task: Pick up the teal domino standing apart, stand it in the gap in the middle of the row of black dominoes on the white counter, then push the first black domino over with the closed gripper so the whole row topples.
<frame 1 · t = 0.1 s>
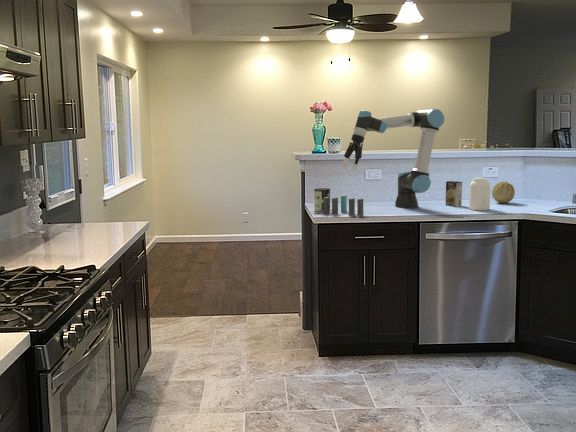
hand: (348, 168, 376), 28 cm above the worktop, tool tilted 20°, fingers open, 13 cm apart
coffee box: (453, 205, 410), on the worktop
domino 1: (360, 215, 371), on the worktop
coffee can: (322, 210, 395), on the worktop
cantaloupe: (503, 203, 417), on the worktop
teal domino: (343, 211, 390), on the worktop
domino 4: (326, 213, 381), on the worktop
domino 2: (351, 214, 373), on the worktop
domino 3: (335, 214, 378), on the worktop
cream jar: (479, 209, 389), on the worktop
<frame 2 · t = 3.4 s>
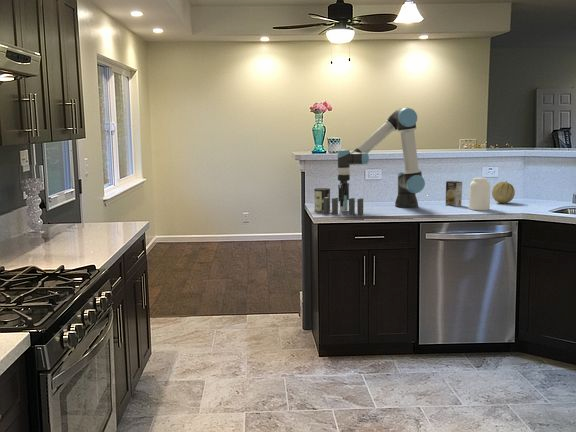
hand: (343, 210, 390), 0 cm above the worktop, tool pointing down, fingers closed on teal domino, 5 cm apart
teal domino: (343, 211, 390), on the worktop, touching gripper
everything else where it was.
when the fingers open (1 cm above the worktop, at t = 8.6 s): teal domino stays where it is, on the worktop.
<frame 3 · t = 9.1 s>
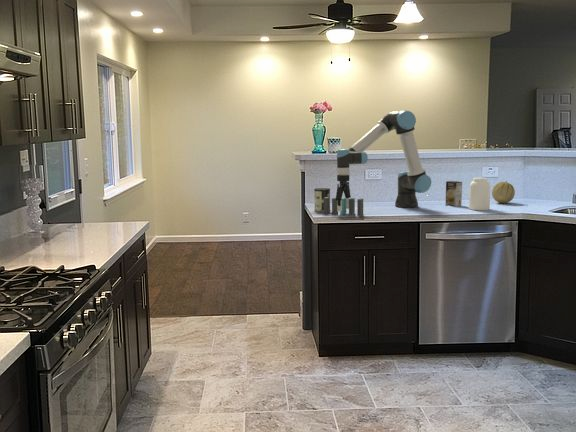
hand: (343, 209, 375), 3 cm above the worktop, tool pointing down, fingers open, 12 cm apart
teal domino: (343, 214, 376), on the worktop
everything else where it was.
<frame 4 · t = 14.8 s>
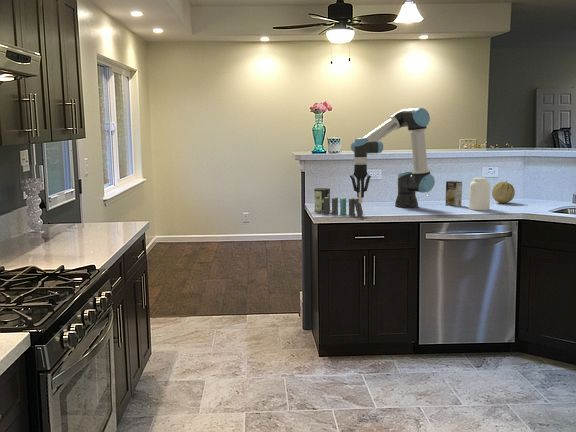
hand: (360, 203, 370), 7 cm above the worktop, tool pointing down, fingers closed
domino 1: (360, 214, 371), on the worktop, tilted 14°
everything else where it was.
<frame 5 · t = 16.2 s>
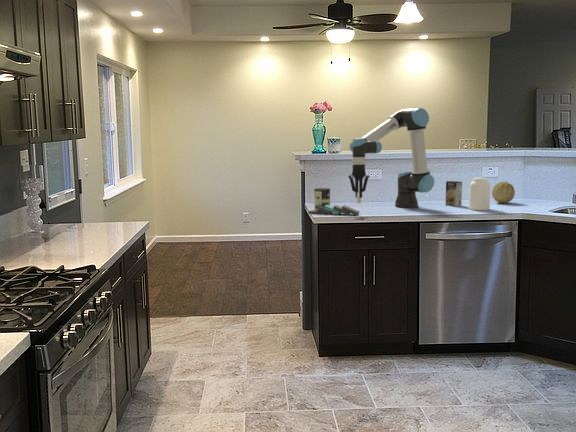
hand: (358, 203, 370), 7 cm above the worktop, tool pointing down, fingers closed
domino 1: (357, 213, 372), point 1 cm above the worktop, tilted 70°, touching domino 2
teal domino: (340, 212, 377), point 1 cm above the worktop, tilted 70°, touching domino 2, domino 3
domino 4: (324, 212, 381), on the worktop, tilted 90°
domino 2: (349, 213, 374), point 1 cm above the worktop, tilted 70°, touching domino 1, teal domino
domino 3: (331, 212, 379), point 1 cm above the worktop, tilted 70°, touching teal domino
everything else where it was.
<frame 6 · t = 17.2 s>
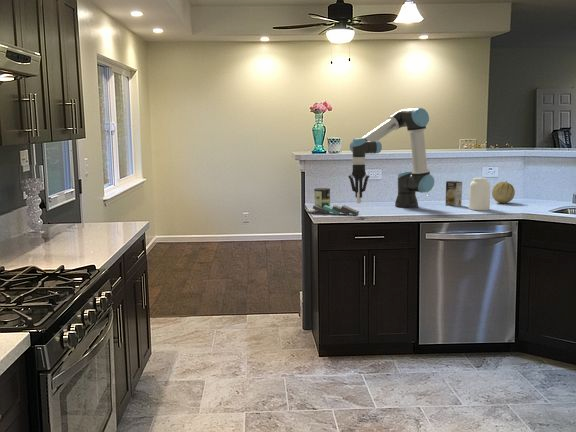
hand: (358, 203, 370), 7 cm above the worktop, tool pointing down, fingers closed
domino 4: (323, 212, 381), on the worktop, tilted 90°, touching domino 3
domino 3: (328, 212, 379), point 1 cm above the worktop, tilted 71°, touching domino 4, teal domino
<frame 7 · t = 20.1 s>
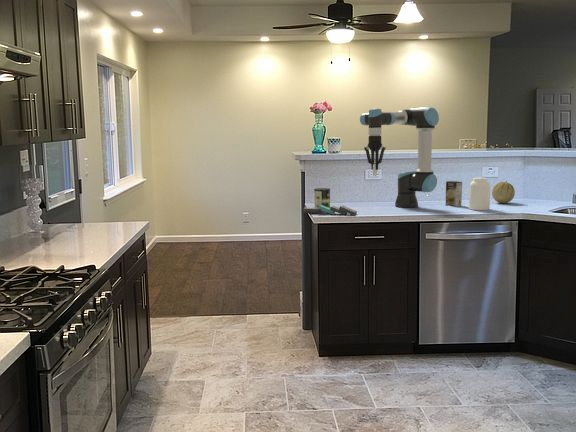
hand: (374, 175, 364), 24 cm above the worktop, tool pointing down, fingers closed
domino 1: (355, 213, 372), point 1 cm above the worktop, tilted 71°, touching domino 2
teal domino: (334, 212, 378), point 1 cm above the worktop, tilted 69°, touching domino 2
domino 4: (319, 212, 382), on the worktop, tilted 90°, touching domino 3
domino 2: (346, 213, 375), point 1 cm above the worktop, tilted 73°, touching domino 1, teal domino
domino 3: (319, 210, 380), point 2 cm above the worktop, tilted 90°, touching domino 4
everything else where it was.
at the end: domino 4 tilted 90°; teal domino tilted 70°; teal domino inside the target area (4.9 cm from its centre), point 0.9 cm above the worktop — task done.
